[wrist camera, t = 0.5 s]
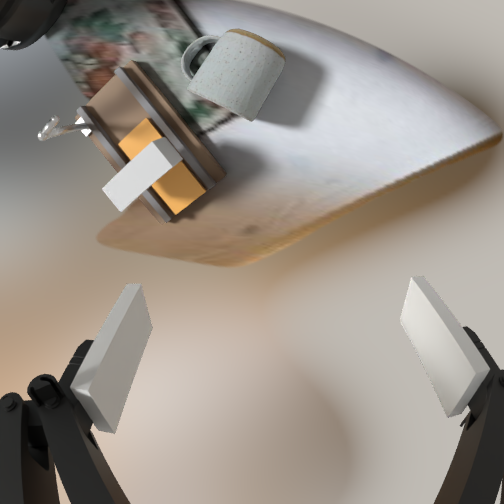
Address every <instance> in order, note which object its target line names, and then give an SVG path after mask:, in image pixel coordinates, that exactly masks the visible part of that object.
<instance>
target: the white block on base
mask: <svg viewBox="0 0 504 504" xmlns="http://www.w3.org/2000/svg"><path fill="white" fill-rule="evenodd" d="M118 145H119V146H120V147H121V149H122V150H123V151H124V152H125V154H126V155H127V156H128V157H129V159H130V160H131V161H130V162H129V163H128V164H127V165H126V166H125V167H124V168H123V169H122V170H121V171H120V172H119V173H117V174H116V175H115V176H114V177H113V178H112V179H111V181H109V182H108V184H106V186H104V187H103V188H102V190H103V191H104V192H105V194H106V195H107V196H108V197H109V199H110V200H111V201H112V202H113V203H114V205H115V206H116V207H117V208H118V209H119V211H120V212H121V211H123V210H124V209H125V208H126V207H127V206H128V205H130V204H131V203H132V202H133V201H134V200H135V199H137V198H138V197H139V196H140V195H141V194H142V193H143V192H144V191H146V190H147V189H148V188H149V187H150V186H152V187H153V188H154V189H155V190H156V192H157V193H158V194H159V195H160V197H161V198H162V199H163V200H164V201H165V203H166V204H167V205H168V206H169V207H170V209H171V210H172V211H173V212H174V213H175V215H176V214H178V213H179V212H180V211H181V210H183V209H184V208H185V207H187V206H188V205H189V204H190V203H192V202H193V201H194V200H196V199H197V198H198V197H200V196H201V195H202V194H204V193H205V192H206V190H205V188H204V187H203V186H202V185H201V183H200V182H199V181H198V180H197V178H196V177H195V176H194V175H193V173H192V172H191V171H190V170H189V168H188V167H187V166H186V165H185V163H184V162H183V161H182V160H183V158H182V157H181V156H180V154H179V153H178V152H177V151H176V150H175V148H174V147H173V146H172V145H171V143H170V142H169V141H168V140H167V138H166V137H163V136H162V135H161V134H160V132H159V131H158V130H157V129H156V127H155V126H154V125H153V124H152V122H151V121H150V120H149V119H148V118H145V119H144V120H143V121H142V122H141V123H140V124H139V125H138V126H136V127H135V128H134V129H133V130H132V131H131V132H130V133H129V134H128V135H127V136H126V137H125V138H124V139H123V140H122V141H121V142H120V143H119V144H118Z"/></svg>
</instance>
